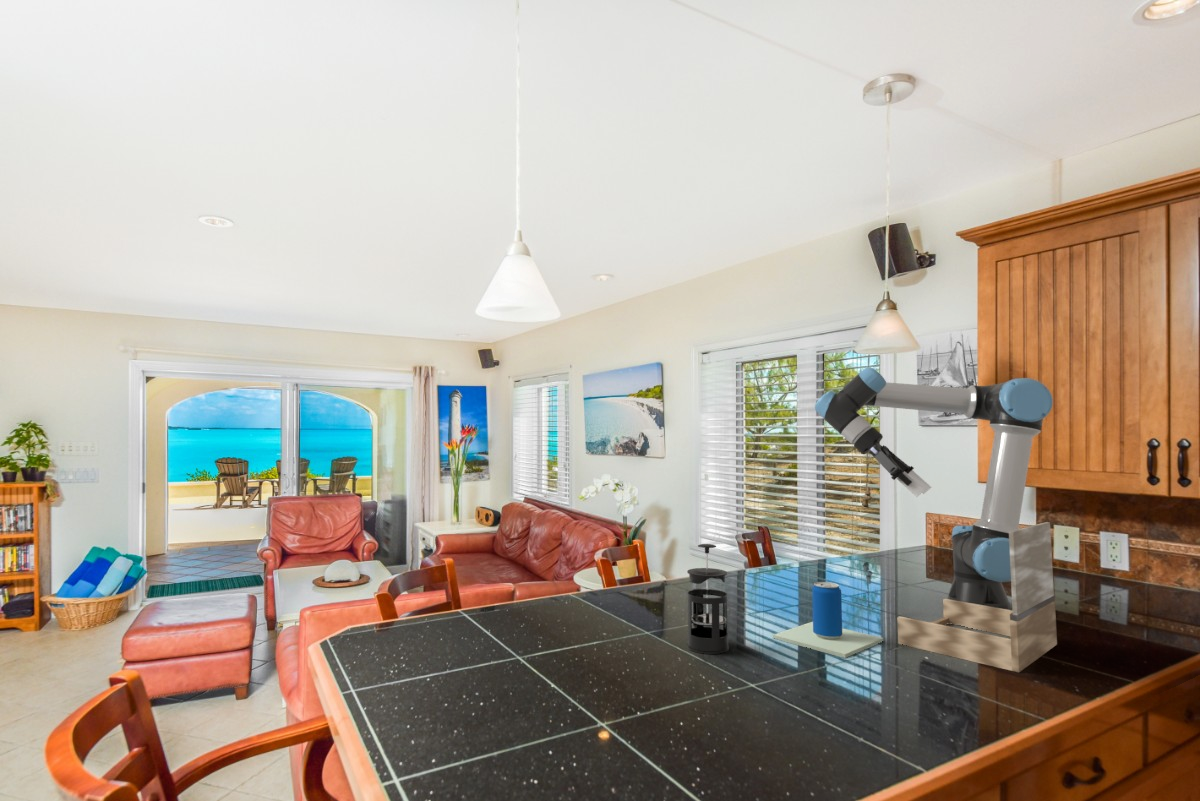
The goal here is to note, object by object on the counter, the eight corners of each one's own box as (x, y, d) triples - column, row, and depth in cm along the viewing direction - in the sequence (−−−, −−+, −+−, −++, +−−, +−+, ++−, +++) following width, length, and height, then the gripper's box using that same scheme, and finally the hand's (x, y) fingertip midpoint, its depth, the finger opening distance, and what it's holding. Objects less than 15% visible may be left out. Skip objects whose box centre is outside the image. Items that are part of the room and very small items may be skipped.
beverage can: (837, 632, 148) (836, 581, 149) (846, 640, 142) (844, 587, 143) (810, 631, 149) (809, 581, 150) (817, 639, 142) (816, 587, 143)
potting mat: (772, 638, 146) (772, 634, 146) (813, 624, 158) (813, 621, 158) (845, 658, 133) (844, 654, 133) (883, 641, 144) (883, 637, 144)
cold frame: (898, 643, 143) (894, 521, 145) (945, 622, 161) (941, 513, 163) (1019, 672, 124) (1013, 532, 127) (1057, 644, 143) (1051, 522, 145)
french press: (737, 653, 135) (736, 547, 137) (697, 656, 133) (697, 548, 135) (715, 637, 146) (714, 539, 148) (677, 640, 144) (677, 540, 146)
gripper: (862, 445, 185) (919, 498, 175) (842, 445, 164) (906, 505, 154) (880, 427, 182) (940, 480, 172) (863, 424, 161) (929, 484, 152)
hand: (924, 492), depth 163 cm, fingers open, 13 cm apart
